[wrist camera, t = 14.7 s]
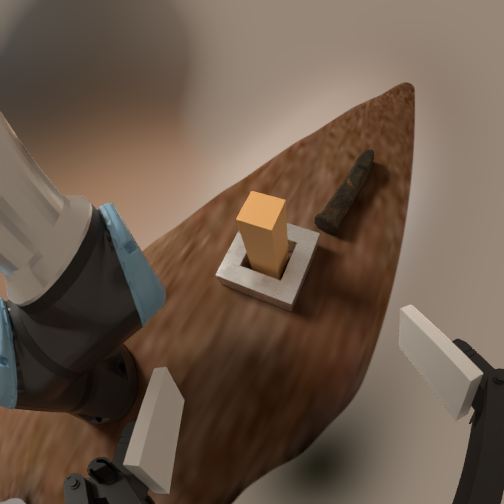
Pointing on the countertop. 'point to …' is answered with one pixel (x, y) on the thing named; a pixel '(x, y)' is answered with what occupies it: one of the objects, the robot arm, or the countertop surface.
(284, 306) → the square frame
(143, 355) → the countertop surface
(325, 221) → the hand tool
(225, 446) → the countertop surface
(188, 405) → the countertop surface
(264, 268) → the orange rectangular block
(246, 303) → the countertop surface
